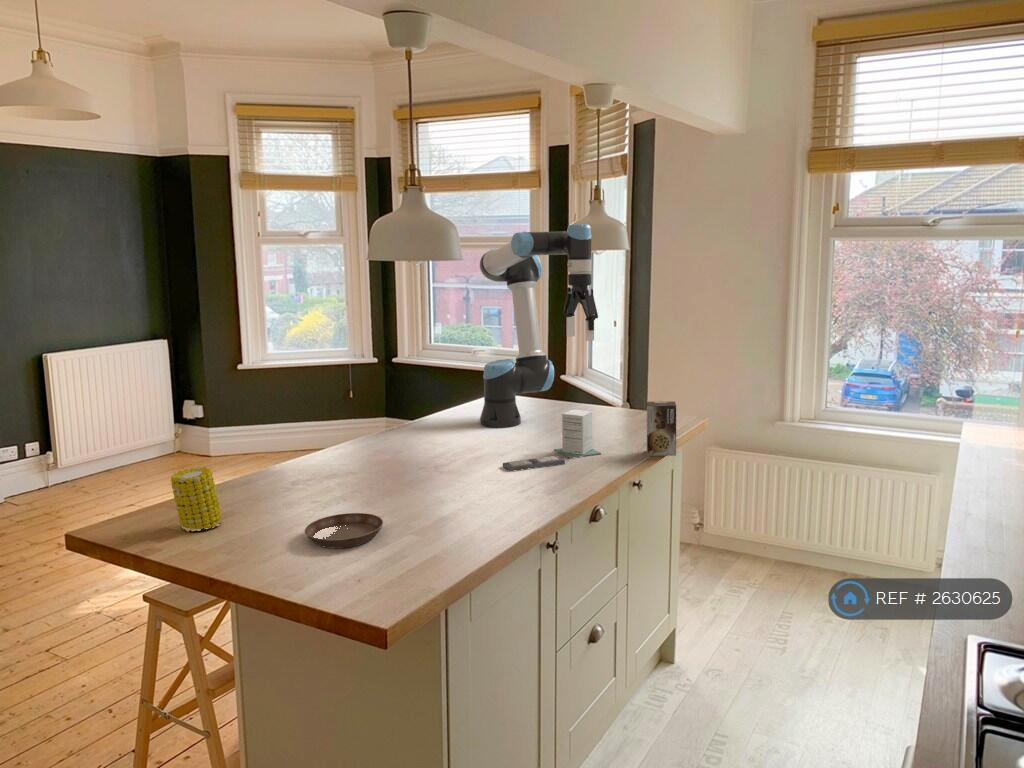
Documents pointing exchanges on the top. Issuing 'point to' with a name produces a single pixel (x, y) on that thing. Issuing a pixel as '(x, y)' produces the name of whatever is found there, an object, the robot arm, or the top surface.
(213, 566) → the top surface
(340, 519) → the plant saucer
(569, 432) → the supplement box
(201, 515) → the food
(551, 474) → the top surface
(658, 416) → the coffee box
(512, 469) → the label plate
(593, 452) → the mat
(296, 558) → the top surface
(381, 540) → the top surface
